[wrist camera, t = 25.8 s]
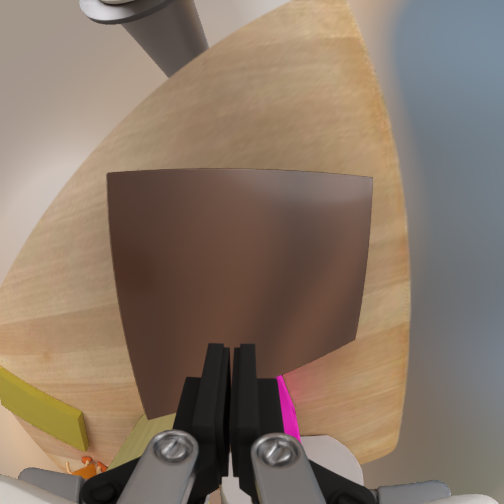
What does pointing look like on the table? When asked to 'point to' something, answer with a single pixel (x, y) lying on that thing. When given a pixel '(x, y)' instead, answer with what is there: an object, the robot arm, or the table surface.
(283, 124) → the table surface
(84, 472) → the toy figure
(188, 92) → the table surface
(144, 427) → the potted cactus
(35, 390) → the flat olive board
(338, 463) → the alarm clock
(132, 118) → the table surface
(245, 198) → the lid
